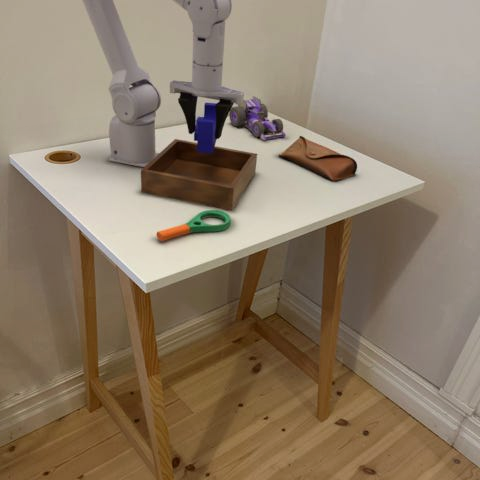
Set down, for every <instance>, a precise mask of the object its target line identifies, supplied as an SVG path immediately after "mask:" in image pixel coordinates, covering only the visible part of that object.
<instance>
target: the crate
mask: <svg viewBox="0 0 480 480" xmlns="http://www.w3.org/2000/svg"><path fill="white" fill-rule="evenodd" d="M158 153H159V154H158V155H157V156H156V157H155V158H154V159H153V160H152V161H150V162H149V163H148V164H147V165H146V166H145V167H142V168H141V169H140V186H141V187H140V188H141V193H144V194H147V195H148V194H149V195H154V196H157V197H158V196H159V197H163V198H169V199H174V200H179V201H183V202H189V203H194V204H199V205H204V206H208V207H214V208H218V209H223V210H229V211H233V210H234V208H235V206H236V205H237V203H238V202H239V200H240V199H241V197H242V196H243V194H244V192H245V191H246V189H247V188H248V186H249V184H250V183H251V181H252V180H253V178H254V176H255V175H256V170H257V160H258V153H255V152H249V151H244V150H239V149H233V148H228V147H221V146H216V145H215V147H214V150H213V153H201V152H197V142H196V141H189V140H183V139H177V138H175V139H173V140H172V141H171V142H170V143H169V144H168V145H167V146H166V147H165V148H164V149H162V150H161V151H160V152H158Z"/></svg>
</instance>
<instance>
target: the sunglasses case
mask: <svg viewBox="0 0 480 480" xmlns="http://www.w3.org/2000/svg"><path fill="white" fill-rule="evenodd" d="M278 156H279V157H281V158H284V159H286V160H289V161H290V162H293V163H294V164H296V165H299V166H301V167H302V168H305V169H306V170H308V171H310V172H312V173H314V174H317V175H318V176H321V177H323V178H326V179H329V180H331V181H342V180H346V179H349V178H352V177H354V176H355V175H356V172H357V170H358V163H357V161H356V159H354V158H353V157H351V156H348V155H345V154H341V153H339V152H337V151H335V150H333V149H331V148H329V147H326V146H324V145H322V144H319V143H317V142H314V141H312V140H310V139H307V138H306V137H304V136H303V135H299V138H297V139H296V140H295V141H294V142H293V143H292V144H290V145H289V146H288V147H287V148H286V149H285V150H284V151H283V152H281V153H280V154H278Z"/></svg>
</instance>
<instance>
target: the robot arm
mask: <svg viewBox="0 0 480 480" xmlns="http://www.w3.org/2000/svg"><path fill="white" fill-rule="evenodd" d="M172 1H173V2H174V3H176V4H177V5H178V6H180V7H181V8H182V9H184V10H185V11H186V12H187V15H188V17H189V19H190V21H191V25H192V64H191V65H192V66H191V67H192V68H191V81H184V80H183V81H182V80H181V81H180V80H175V79H174V80H172V81H170V82H169V93H170V94H174V95H175V94H179V97H178V98H177V102H178V105H179V106H180V108H181V111H182V112H183V115H184V118H185V121H186V126H187V130H188V131H187V132H188V134H189V135H194V132H195V128H196V120H197V117H196V116H197V105H198V98H205V99H210V100H214V101H215V100H216V101H217V102H216V103H217V104H216V105H215V110H216V129H215V139H217V140H219V139H220V138H221V137H222V134H223V129H224V126H225V124H226V120H227V118H228V117H229V116H228V115H229V113H230V110H231V108H232V107H234V104H235V105H237V106H238V105H241V104H242V103H243V100H244V98H245V92H244V91H241V90H236V89H233V88H229V87H226V86H223V69H224V52H225V32H226V20H228V19H229V17H230V15H231V14H232V13H231V12H232V8H233V7H232V0H172ZM82 3H83V4H84V5H83V6H84V8H85V10H86V12H87V15H88V18H89V20H90V22H91V25H92V27H93V30H94V33H95V34H96V38H97V39H98V42H99V44H100V47H101V49H102V52H103V54H104V57H105V59H106V62H107V64H108V66H109V69H110V72H111V74H112V78H111V81H110V84H109V85H108V91H109V93H110V96H111V105H112V110H113V112H114V114H115V115H114V116H112V118H111V120H110V122H109V127H108V137H109V149H110V157H109V161H110V162H113V163H120V164H123V165H124V164H126V165H130V166H135V167H140V168H144V167H145V166H146V165H147V164H148V163H149V162H150V161H152V160H153V159H154V158H155V157H156V156H157V155H158V154H159V153H160V152H156V117H157V115H156V113H157V111H158V110H159V109H160V107H161V104H162V97H161V93H160V91H159V88H157V86H156V85H155V84H154V83H153V81H152V80H151V77H150V74H149V73H148V72H146V71H145V70H144V69H143V68H141V67H140V66H139V65H138V61H137V60H136V57H135V54H134V52H133V49H132V47H131V44H130V41H129V39H128V36H127V34H126V33H127V32H126V30H125V27H124V25H123V23H122V21H121V18H120V15H119V13H118V10H117V8H116V4H115V3H114V0H82Z"/></svg>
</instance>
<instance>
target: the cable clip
mask: <svg viewBox="0 0 480 480" xmlns="http://www.w3.org/2000/svg"><path fill="white" fill-rule="evenodd" d="M217 103H218V102H204V105H203V106H204V108H203V109H204V110H203V116H197V117H196V128H195V132H194V133H193V142H196V143H197V152H201V153H213V150H214V147H215V146H216V143H217V140H218V139H215V129H216V110H215V105H216V104H217Z"/></svg>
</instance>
